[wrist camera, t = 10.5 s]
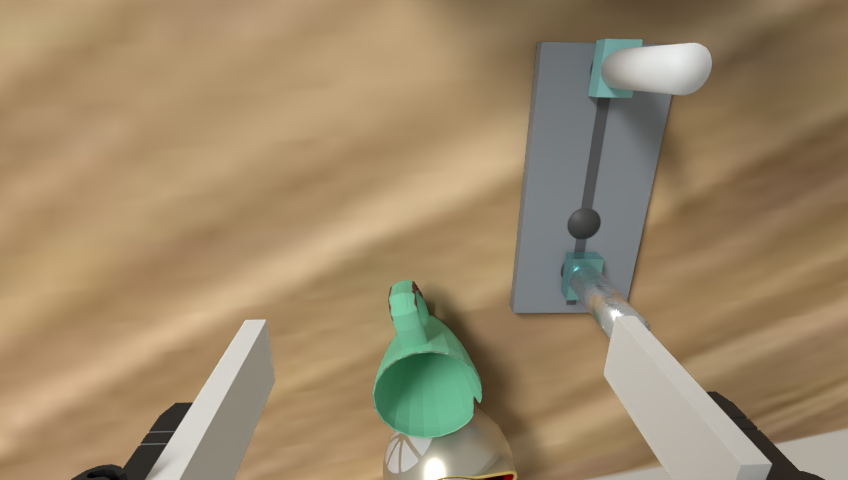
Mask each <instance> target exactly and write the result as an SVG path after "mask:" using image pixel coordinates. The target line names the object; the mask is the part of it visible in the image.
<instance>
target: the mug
mask: <svg viewBox="0 0 848 480" xmlns="http://www.w3.org/2000/svg"><path fill="white" fill-rule="evenodd" d="M388 302H389V308H390V315H391V318H392V321H393V324H394V327H395V330H396V332H397V334H396V335H395V337H394V339H393V340H392V342H391V343H390V345H389V347H388V348H387V351H386V353H385V355H384V358H383V360H382V362H381V365H380V367H379V370H378V372H377V375H376V379H375V383H374V388H373V395H372V396H373V402H374V407H375V410H376V412H377V413H378V415H379V416H380V418H381V420H382V421H383V422H384V423H385V424H387V425H388V426H389V427H390V428H392V429H393V430H395V431H397V432H399V433H402V434H404V435H407V436H411V437H418V438H432V437H441V436H444V435H447V434H449V433H452V432H455V431H457V430H458V429H460V428H461V427H463V426H464V425H466V424H467V423H468V422H469V421H470V420H471V418H472V417H473V416H474V412H475V403H474V401H475V398H476V400H477V401H478V402H479V403H481V400H482V384H481V380H480V377H479V375H478V373H477V371H476V369H475V367H474V364H473V363H472V361H471V359H470V357H469V355H468V353H467V352H466V350H465V348H464V347H463V345H462V344H461V342H460V341H459V340H458V338H457V337H456V336H455V335H454V334H453V332H452V331H451V330H450V329H449V328H448V327H447V326H446V325H445V324H444V323H442V322H441V321H440V320H439V319H438V318H436V317H434V316H432V315H429V313H428V310H427V307H426V304H425V302H424V299H423V296H422V293H421V292H420V290H419V288H418V287H417V285H416V284H415V282H413V281H409V280H404V281H400V282H397V283H396V284H394V285H393V286H392V287H391V288H390V292H389V297H388Z"/></svg>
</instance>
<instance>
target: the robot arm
mask: <svg viewBox="0 0 848 480" xmlns="http://www.w3.org/2000/svg"><path fill="white" fill-rule="evenodd" d="M603 375H604V376H605V378H606V380H607V381H608V383H609V384H610V386H611V387H612V389H613V390H614V392H615V394H616V395H617V397H618V398H619V400H620V401H621V403H622V404H623V406H624V407H625V409H626V411H627V412H628V414H629V415H630V417H631V418H632V420H633V421H634V423H635V424H636V426H637V428H638V429H639V431H640V432H641V434H642V435H643V437H644V438H645V440H646V442H647V443H648V445H649V446H650V448H651V449H652V451H653V452H654V454H655V455H656V457H657V459H658V460H659V462H660V463H661V465H662V466H663V468H664V469H665V471H666V472H667V474H668V476H669V477H670V479H671V480H825V479H823V478H821V477H819V476H817V475H814V474H810V473H807V472H804V471H799V470H798V469H797V468H796V467H795V466H794V465H793V464H792V463H791V462H790V461H789V460H788V459H787V458H786V457H785V456H784V455H783V454H782V453H781V452H780V450H779V449H778V448H776V446H775V445H774V444H773V443H772V442H771V441H770V440H769V439H768V438H767V437H766V436H765V435H764V434H763V433H762V432H761V431H758V430H757V427H756V426H755V425H754V424H753V423H752V422H751V421H750V420H749V419H747V418H746V416H745V415H744V414H743V413H742V412H741V411H740V410H739V409H738V408H737V406H736V405H735V404H734V403H732V402H731V401H729V400H728V399H726V398H725V397H723V396H721V395H720V394H718V393H717V392H705V391H704V390H703V389H702V388H701V386H700V385H699V384H698V383H697V382H696V381H695V380H694V379H693V378H692V377H691V376H690V375H689V373H688V372H687V371H686V370H685V369H684V368H683V367H682V366H681V365H680V364H679V363H678V362H677V361H676V359H675V358H674V357H673V356H672V355H671V354H670V353H669V352H668V351H667V350H666V349H665V348H664V346H663V345H662V344H661V343H660V342H659V341H658V340H657V339H656V338H655V337H654V336H653V335H652V334H651V332H650V331H649V330H648V329H647V328H646V327H645V326H644V325H643V324H642V323H641V322H640V321H639V319H638V318H637V317H636V316H615V321H614V326H613V330H612V335H611V340H610V345H609V350H608V355H607V359H606V364H605V369H604V374H603ZM274 382H275V375H274V368H273V361H272V354H271V347H270V340H269V333H268V326H267V320H245V321H244V323H243V325H242V326H241V328H240V329H239V331H238V333H237V334H236V336H235V337H234V339H233V341H232V342H231V344H230V345H229V347H228V349H227V350H226V352H225V353H224V355H223V356H222V358H221V360H220V361H219V363H218V364H217V366H216V368H215V369H214V371H213V372H212V374H211V376H210V377H209V379H208V380H207V382H206V384H205V385H204V387H203V388H202V390H201V392H200V393H199V395H198V396H197V398H196V399H195V401H194V403H175V404H174V405H173V406H171V407H170V408H169V409H168V410H166V411H165V412H164V413H163V414H162V415H160V416H159V418H158V419H157V421H156V422H155V423H154V425H153V426H152V428H151V429H150V432H149V434H147V435H146V436H145V438H144V439H143V441H142V442H141V445H140V446H138V448H137V449H136V451H135V452H134V453H133V455H132V456H131V458H130V459H129V461H128V462H127V463H126V465H125V466H124V468H123V469H122V468H121V467H120V466H116V465H112V464H110V465H101V466H97V467H95V468H92V469H89V470H86V471H84V472H83V473H81V474H79V475H78V476H76V477H74V478H73V479H71V480H234V479H235V476H236V474H237V471H238V469H239V467H240V464H241V462H242V459H243V457H244V454H245V452H246V450H247V447H248V445H249V442H250V440H251V437H252V435H253V433H254V430H255V428H256V425H257V423H258V421H259V418H260V416H261V413H262V411H263V408H264V406H265V404H266V401H267V399H268V396H269V394H270V391H271V389H272V387H273V384H274Z"/></svg>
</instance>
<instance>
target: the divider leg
mask: <svg viewBox="0 0 848 480" xmlns="http://www.w3.org/2000/svg"><path fill="white" fill-rule="evenodd" d="M603 263H604V259H603V258H602V257H601V256H600V255H599V254H598V253H597V252H566V258H565V265H564V272H563V278H562V285H561V293H562V294H563V296H564V297H565V299H566V300H581V302H582V303H583V304H584V306H585V307H586V308H587V310H588V311H589V312H590V314H591V315H592V316H593V318H594V319H595V320H596V322H597V323H598V324H599V326H600V327H601V328H602V330H603V331H604V332H605V333H606V335H607V336H608V337H609V339H610V340H611V335H612V330H613V326H614V321H615V316H636V317H637V318H638V319H639V321H640V322H641V323H642V324H643V325H644V326H645V327H646V328H647V329H648V330H649V331H650V328H649V325H648V323H647V322H646V320H645V319H644V318H643V317H642V316H641V315H640V314H639V313H638V312H637V311H636V310H635V309H634V308H633V307H632V306H631V305H630V304H629V303H628V302H627V301H626V299H625V298H624V297H623V296H622V295H621V294H620V293H619V292H618V291H617V290H616V289H615V288H614V287H613V286H612V285H611V284H610V283H609V282H608V281H607V279H606V278H605V277H604V276H603V275H602V268H603Z"/></svg>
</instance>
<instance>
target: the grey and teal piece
mask: <svg viewBox="0 0 848 480" xmlns="http://www.w3.org/2000/svg"><path fill="white" fill-rule="evenodd" d="M642 41H643V39H600V40H596V43H581V42H538V43H537V48H536V58H535V67H534V77H533V87H532V97H531V106H530V116H529V126H528V136H527V145H526V155H525V165H524V175H523V184H522V194H521V204H520V214H519V223H518V233H517V243H516V253H515V262H514V272H513V282H512V292H511V301H510V307H511V309H512V311H513V313H587V312H589V311H588V310H587V308H586V307H585V306H584V304H583V303H582V302H581V300H566V299H565V297H564V296H563V294H562V293H561V285H562V278H563V272H564V265H565V258H566V252H597V253H598V254H599V255H600V256H601V257H602V258H603V259H604V263H603V268H602V275H603V276H604V277H605V278H606V279H607V281H608V282H609V283H610V284H611V285H612V286H613V287H614V288H615V289H616V290H617V291H618V292H619V293H620V294H621V295H622V296H623V297H624V298H625V299H626V301H627V300H628V295H629V290H630V286H631V281H632V277H633V272H634V267H635V263H636V258H637V254H638V249H639V244H640V240H641V235H642V231H643V226H644V221H645V217H646V212H647V208H648V203H649V198H650V194H651V189H652V185H653V180H654V175H655V171H656V166H657V162H658V157H659V152H660V148H661V143H662V139H663V134H664V129H665V125H666V120H667V116H668V111H669V106H670V102H671V97H672V94H674V95H688V94H691V93H693V92H695V91H697V90H698V89H699V88H700V87H702V86H703V84H704V83H705V82H706V80H707V79H708V77H709V75H710V72H711V68H712V59H711V55H710V53H709V51H708V50H707V48H706V47H704V46H703V45H701V44H698V43H684V44H642Z"/></svg>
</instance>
